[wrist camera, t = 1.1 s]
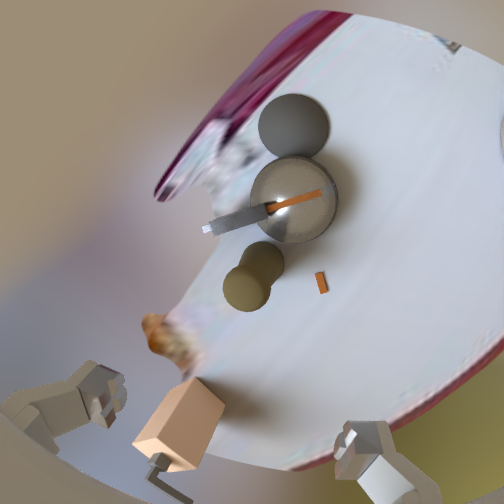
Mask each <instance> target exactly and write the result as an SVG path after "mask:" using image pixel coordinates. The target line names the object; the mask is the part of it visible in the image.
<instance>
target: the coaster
mask: <svg viewBox="0 0 504 504" xmlns="http://www.w3.org/2000/svg"><path fill="white" fill-rule="evenodd" d="M258 130H259V135H260V138H261V140H262V142H263V144H264V146H265V147H266V148H267V149H268V150H269V151H270V152H271V153H273V154H274V155H276V156H278V157H280V158H282V157H286V156H301V157H305V158H309V157H311V156H312V155H314V154H315V153H317V152H318V151H319V150H320V149H321V148H322V146H323V145H324V143H325V141H326V138H327V135H328V121H327V118H326V115H325V113H324V111H323V110H322V108H321V107H320V106H319V105H318V104H317V103H316V102H315V101H313V100H312V99H310V98H308V97H305V96H302V95H297V94H288V95H283V96H280V97H278V98H276V99H274V100H272V101H271V102H270V103H269V104H268V105H267V106H266V107H265V108H264V109H263V111H262V113H261V115H260V118H259V124H258Z"/></svg>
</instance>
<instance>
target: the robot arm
mask: <svg viewBox="0 0 504 504" xmlns="http://www.w3.org/2000/svg"><path fill="white" fill-rule="evenodd" d="M501 141H502V149H503V154H504V118H503V122H502V128H501ZM124 382H125V379H124V375H123V374H122V373H119V372H117V371H114V370H112V369H110V368H108V367H105V366H103V365H101V364H99V363H96V362H94V361H92V360H88V361H86V362H85V363H84V364H83V365H82V366H81V367H80V368H79V369H78V370H77V371H76V372H75V373H74V374H73V375H72V376H71V377H70V378H69V379H68V380H67V381H66V382H65V381H59V382H54V383H50V384H46V385H42V386H38V387H34V388H29V389H25V390H20V391H16V392H14V393H13V394H12V395H11V396H10V397H9V398H8V399H7V400H6V401H4V402H3V403H2V404H1V405H0V504H152V503H149V502H146V501H144V500H141V499H139V498H136V497H134V496H131V495H129V494H127V493H124V492H122V491H120V490H118V489H115V488H113V487H111V486H109V485H107V484H105V483H103V482H101V481H99V480H97V479H95V478H93V477H91V476H90V475H88V474H86V473H84V472H82V471H81V470H79V469H77V468H75V467H74V466H72V465H70V464H69V463H67V462H65V461H64V460H62V459H61V458H59V457H58V456H56V454H57V453H58V452H59V450H60V449H59V446H58V445H57V443H56V441H55V440H54V438H55V437H57V436H60V435H62V434H64V433H67V432H69V431H71V430H73V429H76V428H78V427H80V426H82V425H84V424H87V423H89V422H90V421H92V422H93V423H95V424H98V425H100V426H102V427H104V428H106V429H109V428H110V426H111V425H112V423H113V422H114V421H115V419H116V415H115V413H116V412H119V411H121V410H122V409H123V407H124V406H125V403H126V400H127V390H126V388H125V387H124V386H123V383H124ZM334 457H335V458H336V459H337V460H338V462H337V463H336V465H335V475H336V480H357V481H358V483H359V484H360V485H361V487H362V488H363V489H364V490H365V492H366V493H367V494H368V496H369V497H370V498H371V499H372V501H373V502H374V503H375V504H444V503H443V499H442V496H441V493H440V489H439V486H438V485H437V484H436V483H435V482H434V481H433V480H431V479H430V478H429V477H428V476H427V475H425V474H424V473H423V472H422V471H421V470H419V469H418V468H417V467H416V466H415V465H413V464H412V463H411V462H410V461H409V460H407V458H405V457H404V456H403V455H402V454H401V453H396V449H395V446H394V443H393V439H392V436H391V432H390V429H389V426H388V423H387V422H386V421H347V422H346V423H345V424H344V426H343V432H342V433H340V434H339V435H338V436H337V438H336V441H335V444H334ZM466 504H504V486H503V487H502V488H499V489H497V490H495V491H493V492H491V493H489V494H487V495H485V496H482V497H480V498H478V499H475V500H473V501H470V502H468V503H466Z"/></svg>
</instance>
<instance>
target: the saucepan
mask: <svg viewBox="0 0 504 504" xmlns="http://www.w3.org/2000/svg"><path fill="white" fill-rule="evenodd" d="M250 205H251V207H248V208H245V209H242V210H239V211H237V212H234V213H231V214H228V215H225V216H223V217H220V218H217V219H215V220H213V221H211V222H209V224H210V226H211V229H212V232H213V234H214V236H216V235H220V234H223V233H225V232H228V231H231V230H234V229H237V228H240V227H243V226H247V225H250V224H253V223H256V222H257V224H258V225H259V227H260V228H261V229H262V230H263V231H264V232H265V233H266V234H268V235H269V236H270V237H272V238H274V239H276V240H278V241H281V242H285V243H302V242H306V241H309V240H311V239H313V238H315V237H317V236H318V235H320V234H321V233H322V232H323V231H324V230H325V229H326V228H327V226H328V225H329V223H330V222H331V219H332V217H333V214H334V211H335V193H334V189H333V186H332V184H331V182H330V180H329V178H328V177H327V176H326V174H325V173H324V172H323V171H322V170H321V169H320V168H318V167H317V166H316V165H314V164H312V163H310V162H308V161H305V160H301V159H283V160H279V161H276V162H274V163H272V164H270V165H269V166H267V167H266V168H265V169H264V170H263V171H262V172H261V173H260V174H259V175H258V177H257V178H256V180H255V182H254V184H253V187H252V190H251V196H250Z"/></svg>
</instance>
